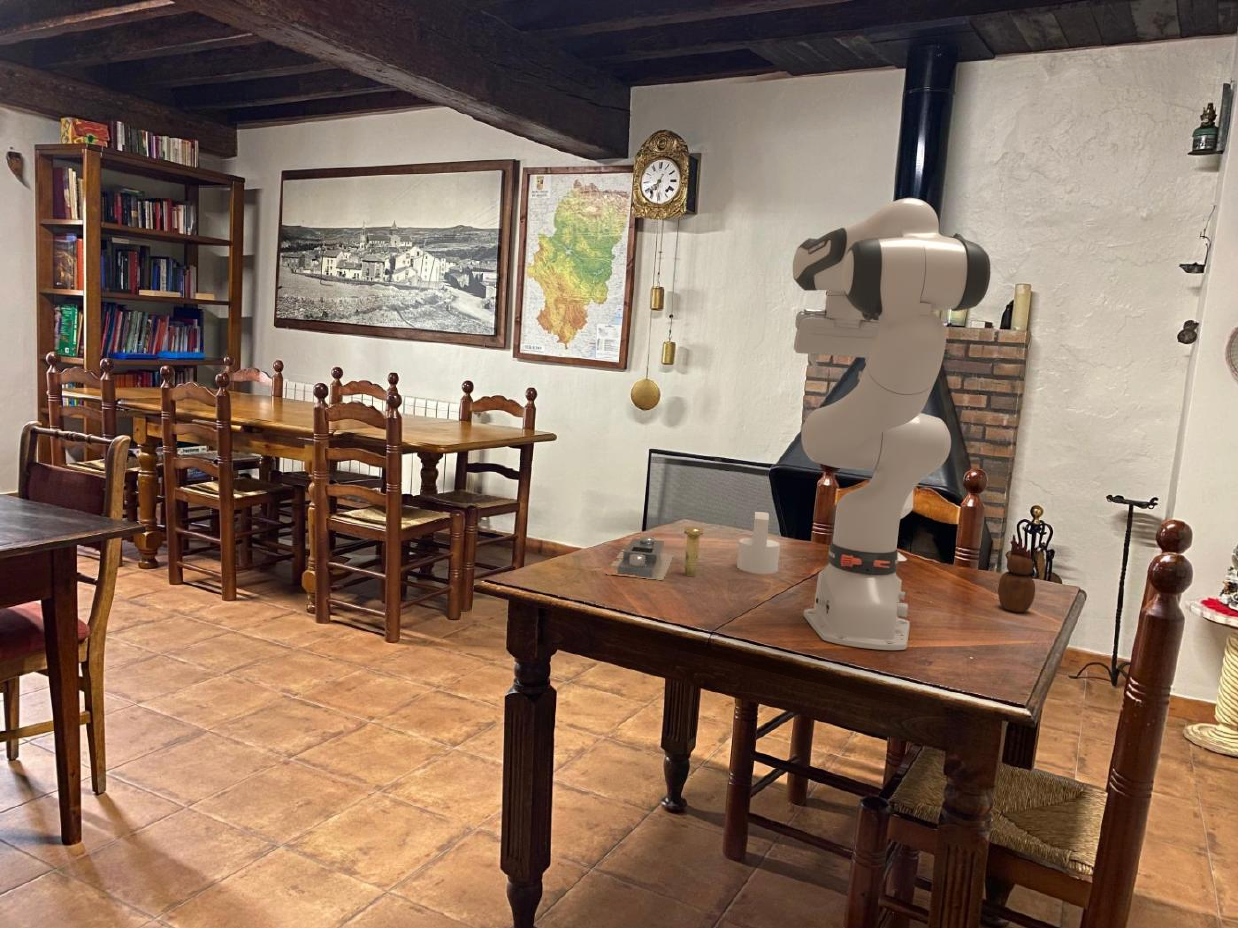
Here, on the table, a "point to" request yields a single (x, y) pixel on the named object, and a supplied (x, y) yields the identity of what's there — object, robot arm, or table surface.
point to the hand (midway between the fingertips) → (840, 378)
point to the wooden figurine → (1017, 580)
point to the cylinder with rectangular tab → (758, 549)
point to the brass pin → (692, 549)
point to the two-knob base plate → (644, 559)
